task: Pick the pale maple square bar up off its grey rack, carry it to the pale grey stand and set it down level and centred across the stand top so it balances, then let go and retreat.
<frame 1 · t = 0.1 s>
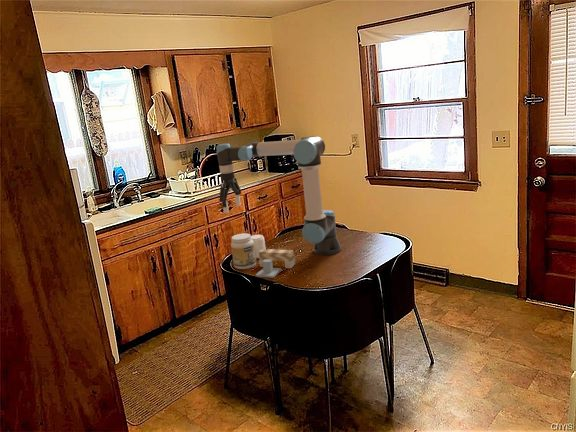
hand: (232, 209, 261), 28 cm above the table, fingers open, 13 cm apart
rack: (277, 265, 248), on the table
white tapered cup: (259, 256, 264), on the table
supplement tub: (245, 266, 252), on the table
bar: (276, 259, 247), point 3 cm above the table, touching rack
pale grey stand: (268, 273, 238), on the table
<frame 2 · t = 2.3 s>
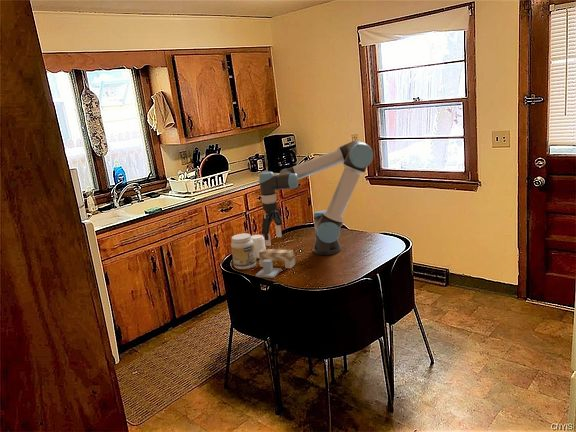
hand: (273, 241, 244), 14 cm above the table, fingers open, 13 cm apart
nothing on the table moved.
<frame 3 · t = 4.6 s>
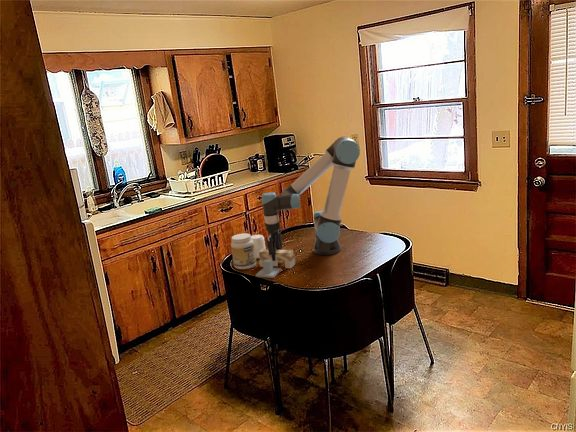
hand: (277, 263, 247), 1 cm above the table, fingers closed on bar, 4 cm apart
bar: (276, 259, 247), point 3 cm above the table, touching gripper, rack
everything else where it was.
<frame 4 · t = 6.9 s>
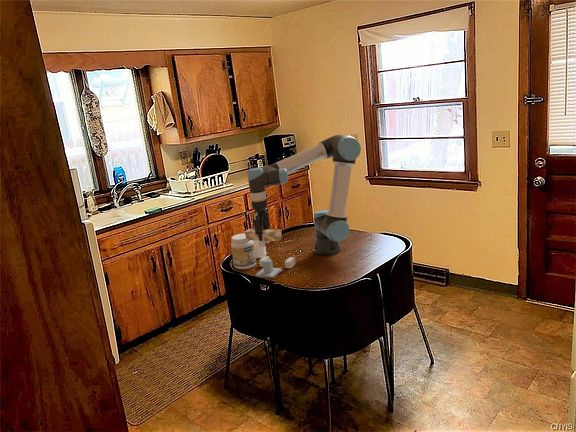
hand: (264, 244, 234), 16 cm above the table, fingers closed on bar, 4 cm apart
bar: (263, 239, 233), point 19 cm above the table, touching gripper
everything else where it was.
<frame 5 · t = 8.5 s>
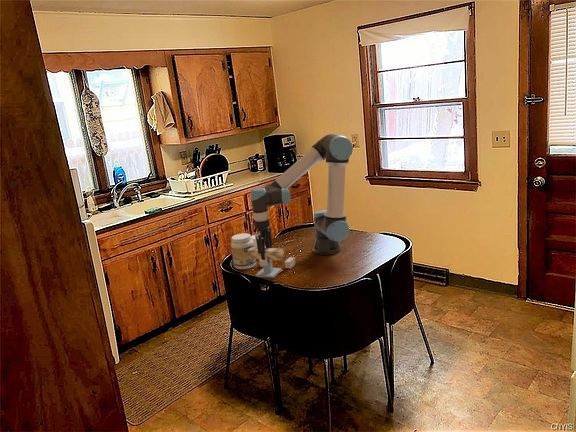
hand: (267, 263, 236), 6 cm above the table, fingers closed on bar, 4 cm apart
bar: (266, 257, 236), point 9 cm above the table, touching gripper
everything else where it was.
when the fingers open (5 cm above the table, at t = 9.6 s): bar stays where it is, resting on pale grey stand.
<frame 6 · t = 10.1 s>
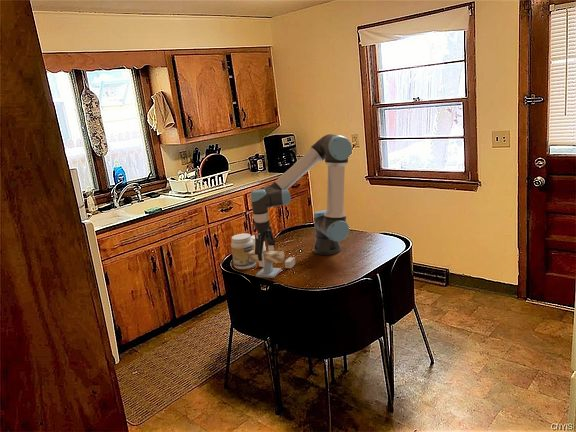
hand: (267, 261, 236), 6 cm above the table, fingers open, 11 cm apart
bar: (267, 260, 236), point 7 cm above the table, touching pale grey stand
everything else where it was.
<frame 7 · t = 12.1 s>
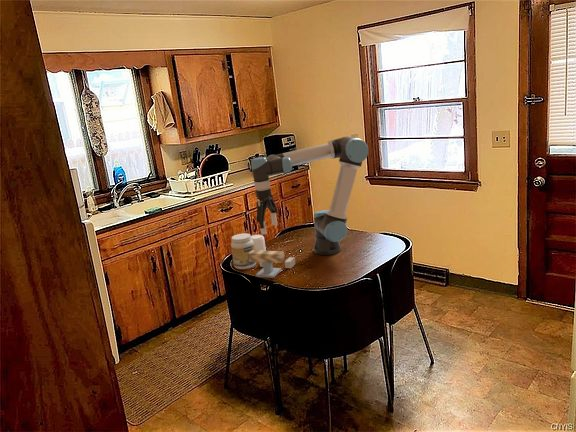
hand: (269, 229, 235), 22 cm above the table, fingers open, 13 cm apart
nothing on the table moved.
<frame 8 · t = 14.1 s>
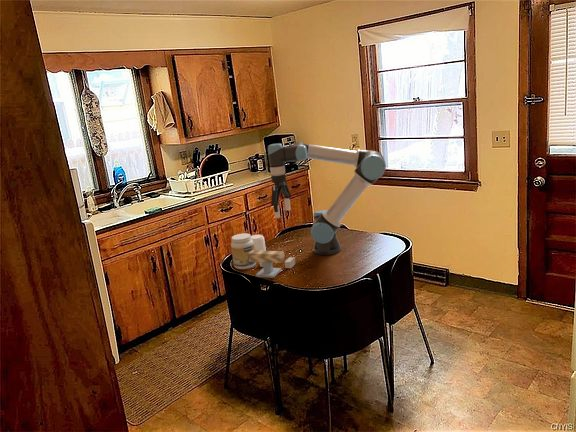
hand: (283, 213, 244), 27 cm above the table, fingers open, 13 cm apart
nothing on the table moved.
at the end: bar 0.0 cm off-centre on the pale grey stand, point 7.0 cm above the pale grey stand's base; bar tilted 0°; bar touching pale grey stand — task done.
